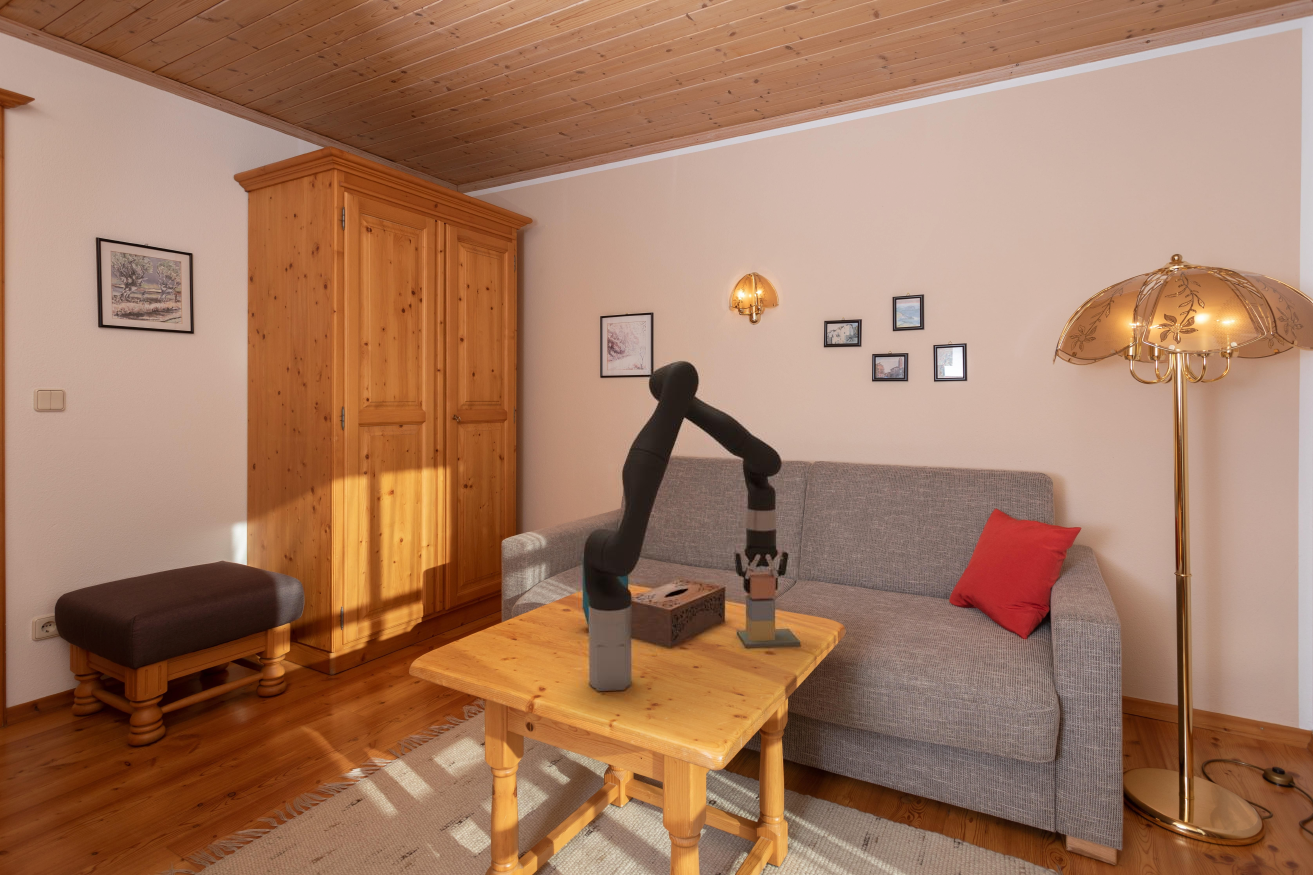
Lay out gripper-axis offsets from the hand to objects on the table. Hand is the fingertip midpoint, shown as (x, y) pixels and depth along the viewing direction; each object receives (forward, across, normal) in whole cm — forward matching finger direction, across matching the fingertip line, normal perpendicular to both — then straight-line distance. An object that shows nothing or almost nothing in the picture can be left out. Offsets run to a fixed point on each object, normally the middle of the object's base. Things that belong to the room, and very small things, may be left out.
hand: (760, 591), depth 173 cm
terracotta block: (+1, 0, 0) cm, 1 cm away
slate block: (+7, 0, 0) cm, 7 cm away
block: (+13, -39, +12) cm, 43 cm away
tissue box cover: (+13, -20, +11) cm, 26 cm away
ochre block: (+12, 0, 0) cm, 12 cm away
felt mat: (+13, +2, 0) cm, 13 cm away
